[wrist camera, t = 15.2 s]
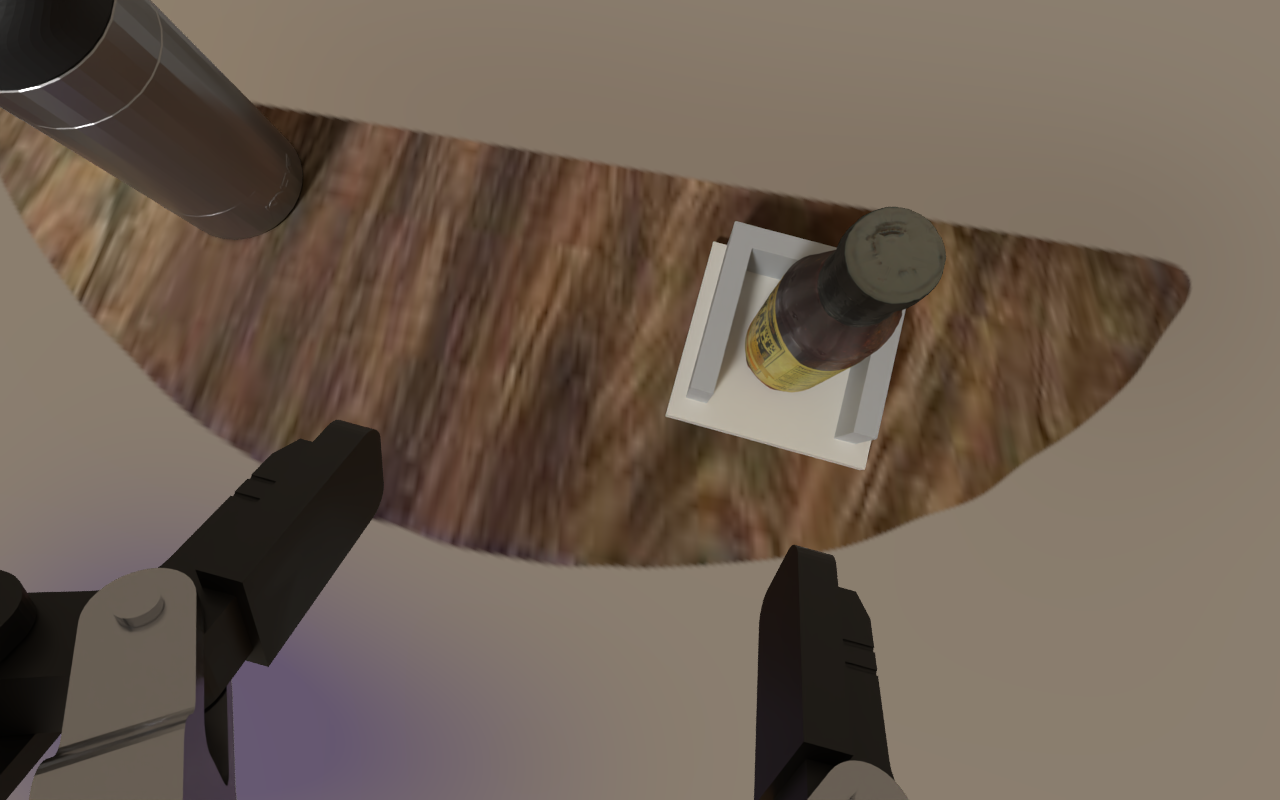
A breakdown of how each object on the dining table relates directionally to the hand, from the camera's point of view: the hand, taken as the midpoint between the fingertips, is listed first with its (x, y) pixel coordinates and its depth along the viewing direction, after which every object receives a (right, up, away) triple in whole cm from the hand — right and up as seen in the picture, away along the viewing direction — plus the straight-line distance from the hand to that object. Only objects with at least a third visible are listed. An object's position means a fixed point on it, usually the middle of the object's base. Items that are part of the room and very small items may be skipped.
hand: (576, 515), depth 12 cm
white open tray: (+11, +5, +33) cm, 36 cm away
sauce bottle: (+11, +5, +32) cm, 35 cm away
